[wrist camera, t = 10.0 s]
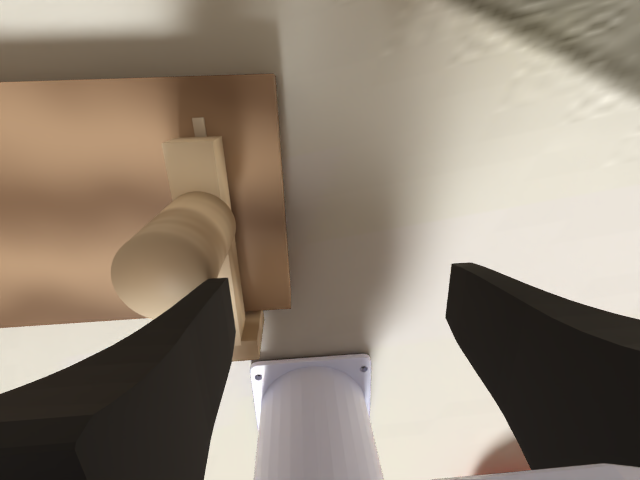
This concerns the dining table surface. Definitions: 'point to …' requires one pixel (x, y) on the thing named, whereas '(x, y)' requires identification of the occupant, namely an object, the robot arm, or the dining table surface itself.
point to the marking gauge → (188, 242)
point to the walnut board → (127, 186)
